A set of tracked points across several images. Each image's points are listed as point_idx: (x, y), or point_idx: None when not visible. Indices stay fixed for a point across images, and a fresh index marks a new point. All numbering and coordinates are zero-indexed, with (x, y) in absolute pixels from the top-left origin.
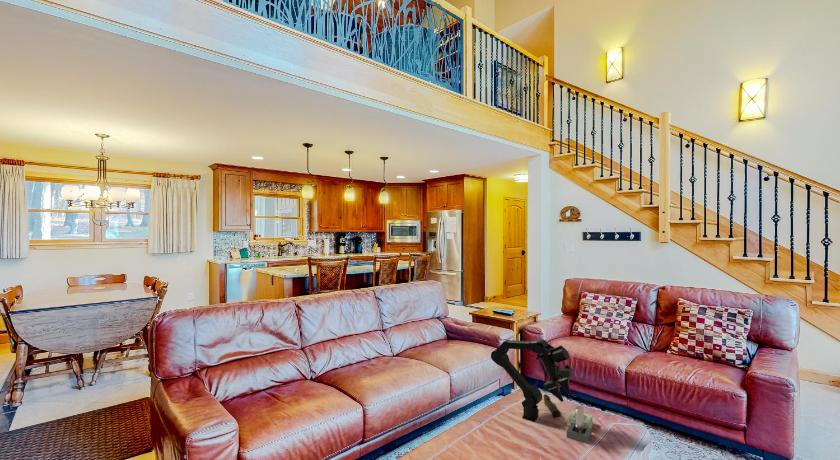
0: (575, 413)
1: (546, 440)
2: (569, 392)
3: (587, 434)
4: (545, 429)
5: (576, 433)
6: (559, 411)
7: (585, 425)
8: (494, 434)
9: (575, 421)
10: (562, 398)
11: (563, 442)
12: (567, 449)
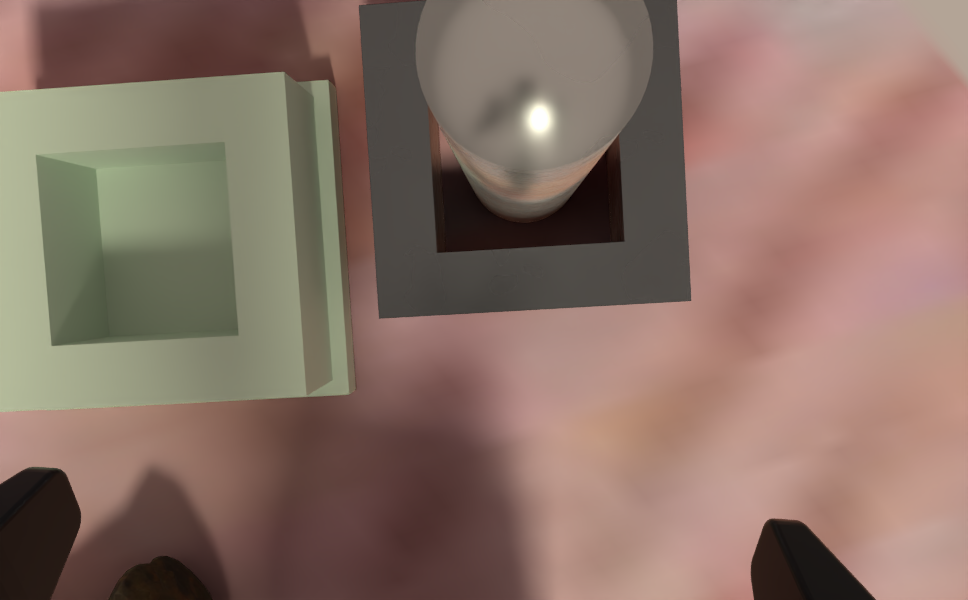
0: (583, 171)
1: (917, 489)
2: (5, 537)
3: None
4: (638, 597)
5: (671, 154)
6: (125, 588)
7: (301, 124)
8: None
9: (573, 188)
10: (837, 591)
11: (822, 290)
12: (964, 194)
